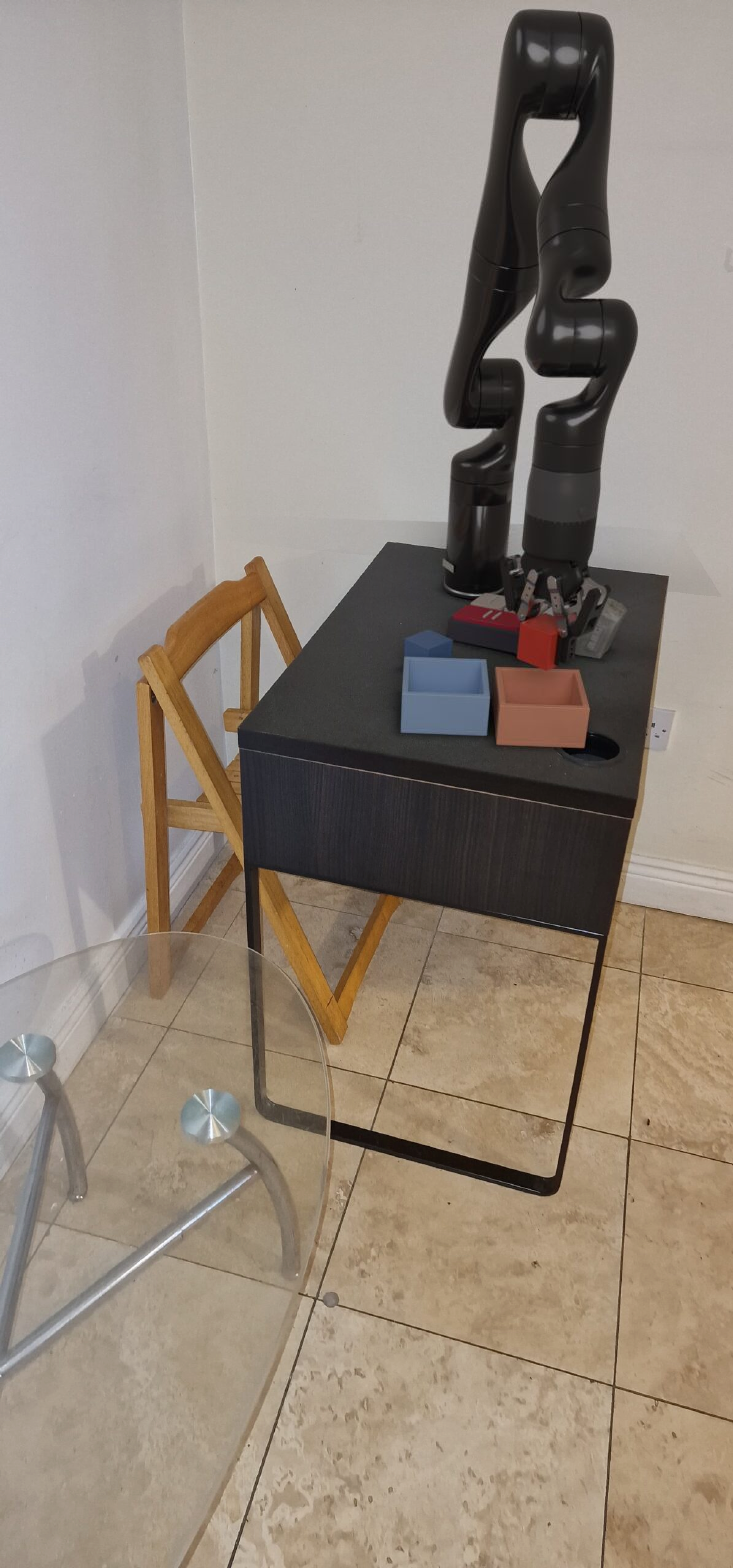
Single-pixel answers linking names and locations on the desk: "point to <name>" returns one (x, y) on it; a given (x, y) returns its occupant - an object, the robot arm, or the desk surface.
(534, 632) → the red block
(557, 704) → the red bin
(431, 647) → the blue block
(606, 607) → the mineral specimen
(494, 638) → the grey tray with pads
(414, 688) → the blue bin
